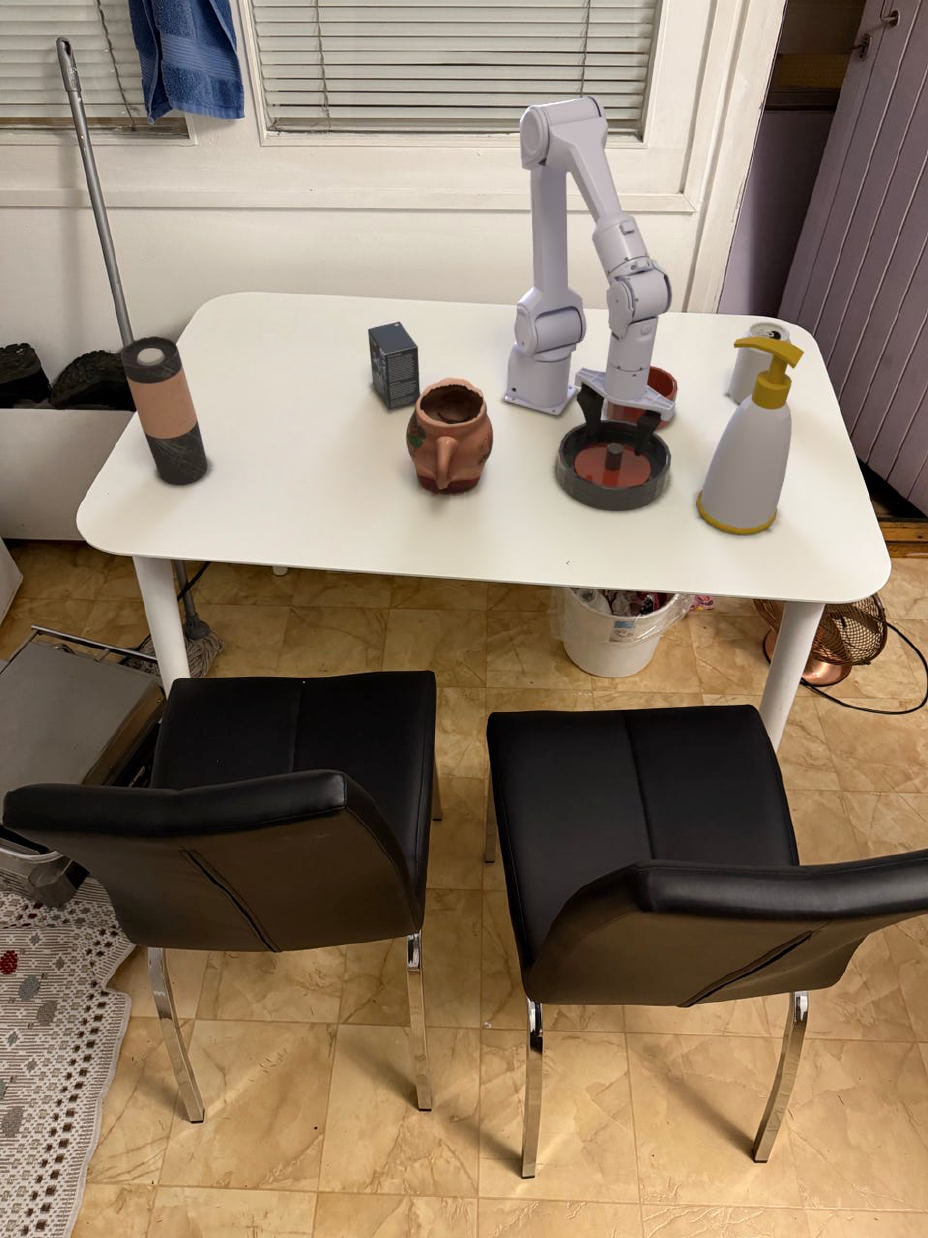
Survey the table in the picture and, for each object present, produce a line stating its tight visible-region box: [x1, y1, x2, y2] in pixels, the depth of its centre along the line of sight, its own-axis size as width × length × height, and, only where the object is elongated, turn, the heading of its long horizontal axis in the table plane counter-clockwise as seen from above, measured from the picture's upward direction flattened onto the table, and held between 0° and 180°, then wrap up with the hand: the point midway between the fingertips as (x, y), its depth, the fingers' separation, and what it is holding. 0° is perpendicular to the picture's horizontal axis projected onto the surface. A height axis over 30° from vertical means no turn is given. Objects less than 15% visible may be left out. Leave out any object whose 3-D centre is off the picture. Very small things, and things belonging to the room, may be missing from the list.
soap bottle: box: [696, 336, 805, 536], centre depth 121 cm, size 11×12×26 cm
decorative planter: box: [405, 377, 494, 496], centre depth 129 cm, size 20×12×14 cm, turn 0°
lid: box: [574, 443, 651, 487], centre depth 134 cm, size 11×11×4 cm
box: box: [367, 321, 421, 411], centre depth 145 cm, size 8×6×11 cm
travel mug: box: [120, 336, 208, 486], centre depth 129 cm, size 8×8×20 cm
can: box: [728, 321, 792, 405], centre depth 144 cm, size 8×8×12 cm
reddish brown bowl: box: [605, 365, 679, 432], centre depth 144 cm, size 10×10×5 cm
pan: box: [556, 419, 672, 512], centre depth 134 cm, size 16×16×4 cm
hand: (616, 442), depth 132 cm, fingers open, 7 cm apart
